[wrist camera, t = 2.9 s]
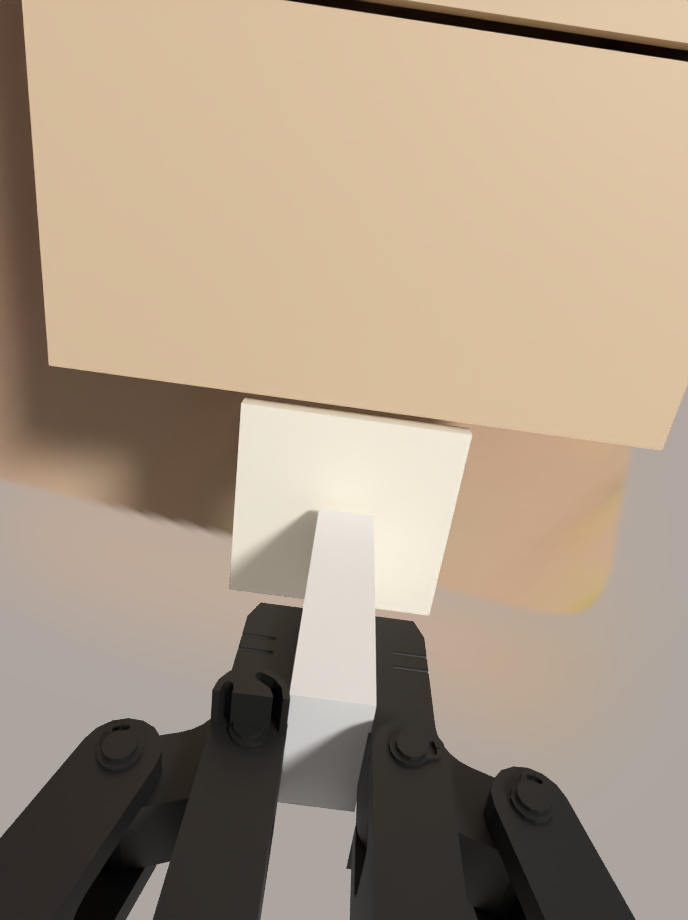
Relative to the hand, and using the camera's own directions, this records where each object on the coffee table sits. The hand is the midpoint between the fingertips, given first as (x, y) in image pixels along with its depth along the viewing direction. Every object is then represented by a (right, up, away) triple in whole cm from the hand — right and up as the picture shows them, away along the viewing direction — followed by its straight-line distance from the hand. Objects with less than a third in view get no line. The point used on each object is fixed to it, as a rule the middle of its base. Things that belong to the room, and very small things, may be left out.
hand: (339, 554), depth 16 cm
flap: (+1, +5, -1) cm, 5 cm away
